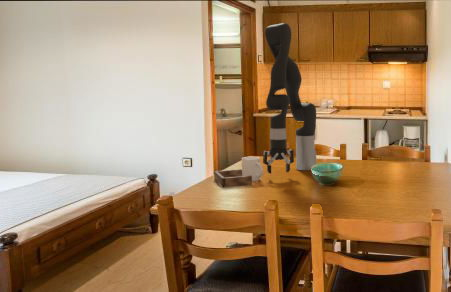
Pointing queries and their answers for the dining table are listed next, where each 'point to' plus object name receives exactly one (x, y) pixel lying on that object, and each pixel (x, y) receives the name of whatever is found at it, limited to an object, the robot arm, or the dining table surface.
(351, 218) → the dining table surface
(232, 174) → the tray
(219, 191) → the dining table surface
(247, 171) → the mug
